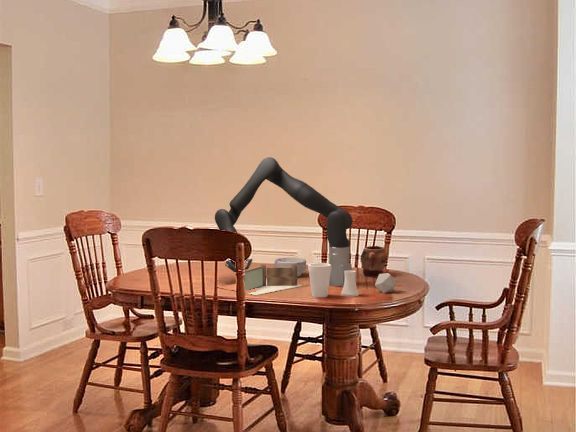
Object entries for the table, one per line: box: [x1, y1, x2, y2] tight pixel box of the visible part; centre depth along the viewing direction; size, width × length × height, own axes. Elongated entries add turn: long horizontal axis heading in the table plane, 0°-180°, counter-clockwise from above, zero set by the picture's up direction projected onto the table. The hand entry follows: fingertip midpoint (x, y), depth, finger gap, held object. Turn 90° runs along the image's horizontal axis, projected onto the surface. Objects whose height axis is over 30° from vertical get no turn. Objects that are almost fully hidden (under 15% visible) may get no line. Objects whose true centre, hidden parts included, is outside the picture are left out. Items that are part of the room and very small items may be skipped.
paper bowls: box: [274, 257, 307, 278], centre depth 333 cm, size 15×15×8 cm
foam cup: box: [307, 262, 331, 298], centre depth 286 cm, size 10×9×13 cm
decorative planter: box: [360, 245, 387, 278], centre depth 330 cm, size 20×12×14 cm, turn 168°
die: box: [374, 272, 398, 294], centre depth 293 cm, size 8×9×10 cm
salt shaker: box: [340, 270, 360, 298], centre depth 287 cm, size 8×8×10 cm
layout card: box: [247, 278, 304, 296], centre depth 306 cm, size 26×28×1 cm
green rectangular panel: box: [243, 265, 263, 291], centre depth 300 cm, size 13×2×9 cm, turn 151°
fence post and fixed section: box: [260, 264, 298, 286], centre depth 307 cm, size 16×2×9 cm, turn 90°
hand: (244, 278), depth 301 cm, fingers closed
